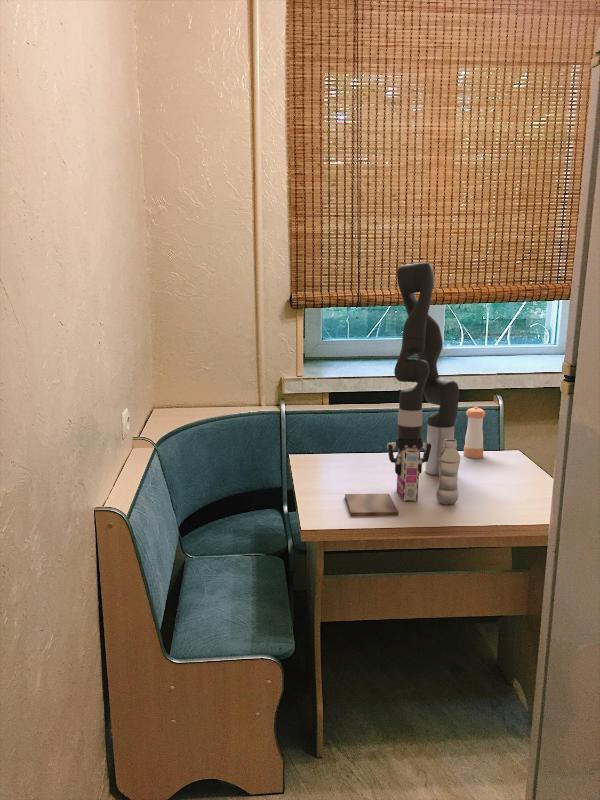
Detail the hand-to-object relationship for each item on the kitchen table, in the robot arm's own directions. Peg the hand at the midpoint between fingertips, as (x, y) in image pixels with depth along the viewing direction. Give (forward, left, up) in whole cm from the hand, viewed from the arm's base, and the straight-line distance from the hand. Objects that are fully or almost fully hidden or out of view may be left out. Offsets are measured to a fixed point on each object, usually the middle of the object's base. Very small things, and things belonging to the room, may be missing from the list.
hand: (407, 474), depth 221 cm
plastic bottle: (-11, +7, -7) cm, 15 cm away
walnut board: (+13, +9, -7) cm, 17 cm away
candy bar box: (0, 0, -7) cm, 7 cm away
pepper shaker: (-34, -44, -7) cm, 56 cm away
